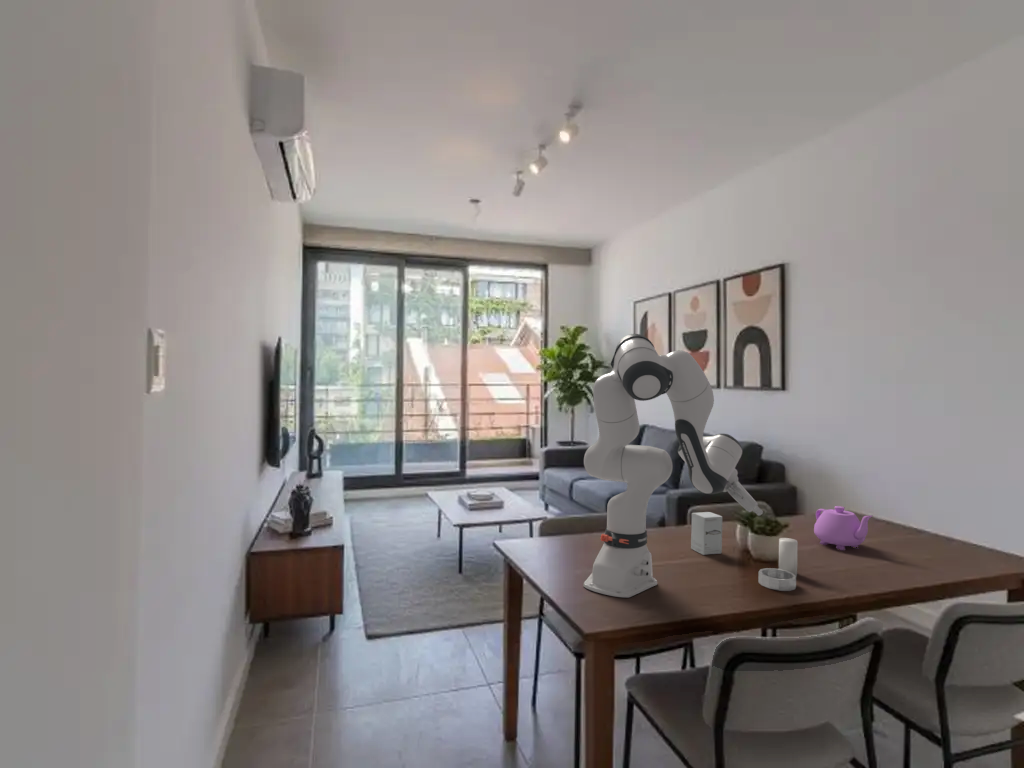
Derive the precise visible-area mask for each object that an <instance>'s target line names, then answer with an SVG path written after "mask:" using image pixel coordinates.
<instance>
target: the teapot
mask: <svg viewBox="0 0 1024 768" xmlns="http://www.w3.org/2000/svg"><path fill="white" fill-rule="evenodd" d="M845 509H846V508H845V507H844V506H840V505H836V506H834V509H831V508H830V509H826V508H819V509H816V511H815V519H816V521H815V523H814V524H813V527H814V528H813V532H814V535H815V536H816V537H817V538H818V539H819V540H820V542H819V544H820V545H823V546H826V545H827V544H828V545H829V544H831V545H835V546H836V547H835V548H837V549H836V550H838V549H840V550H839V551H845V550H846V547H850V546H851V547H850V548H852V547H855V548H854V549H857V548H856V547H859V546H860V545H862V544H863V542H864V541H865V540H866V536H867V535H868V532H869V526H868V524H869V520H870V519H871V518H872V517H873V515H864V516H862V519H861V521H860V519H859V517H858V516H857V515H856V513H854V512H852V511H848V510H845ZM844 549H845V550H844Z"/></svg>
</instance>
